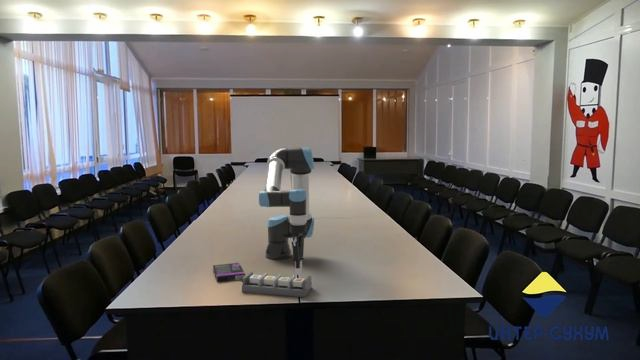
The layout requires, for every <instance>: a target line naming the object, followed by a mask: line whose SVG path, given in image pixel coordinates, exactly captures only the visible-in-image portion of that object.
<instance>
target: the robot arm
mask: <svg viewBox="0 0 640 360" xmlns="http://www.w3.org/2000/svg"><path fill="white" fill-rule="evenodd" d="M266 169H267V172H266V179H265V184H264V185H265V186H264V190H260V191H259V192H258V205H259V207H263V208H288V207H289V215H287V214H281V215H280V214H278V215H275V216H274V215H273V216H271V217H269V218H268V220H267V240H268V241H267V245H266V249H265V253H264V255H265V257H266V258H267V259H269V260H270V259H271V260H283V259H288V258H290V257H293V261H294V266H295V267H294V268H295V269H294V272H295V273H294V275H295V276H301V275H302V274H303V261H304V247H305V246H304V245H305V239H308V238H312V236H313V234H314V226H315V218H314V217H313V216H312V214H311V213H310V177H309V175H310V174H311V173H312V170H313V169H315V165H314V155H313V151H312V149H311V148H310V147H280V148H278V149H276V150H274V151H273V152H272V153H271V154H270V155H269V157H268V158H267V162H266ZM284 170H290V171H289V172H290V173H291V175H292V176H293V177H292V178H293V179H292V182H293V185H292V186H293V188H292V189H290V190H281V186H282V178H283V176H282V175H283V171H284ZM289 239H292V241H291V247H292V249H291V247H290V244H289V243H290V242H289Z"/></svg>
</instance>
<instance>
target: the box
mask: <svg viewBox="0 0 640 360" xmlns="http://www.w3.org/2000/svg"><path fill="white" fill-rule="evenodd" d="M212 268H213V269H212V270H213V274H214V277H215V279H216V282H217V283H221V282H228V281H238V280H243V277H245V276H246V273H245V272H244V269H243V268H242V266H241V264H240V262H233V263H222V264H212Z"/></svg>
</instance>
